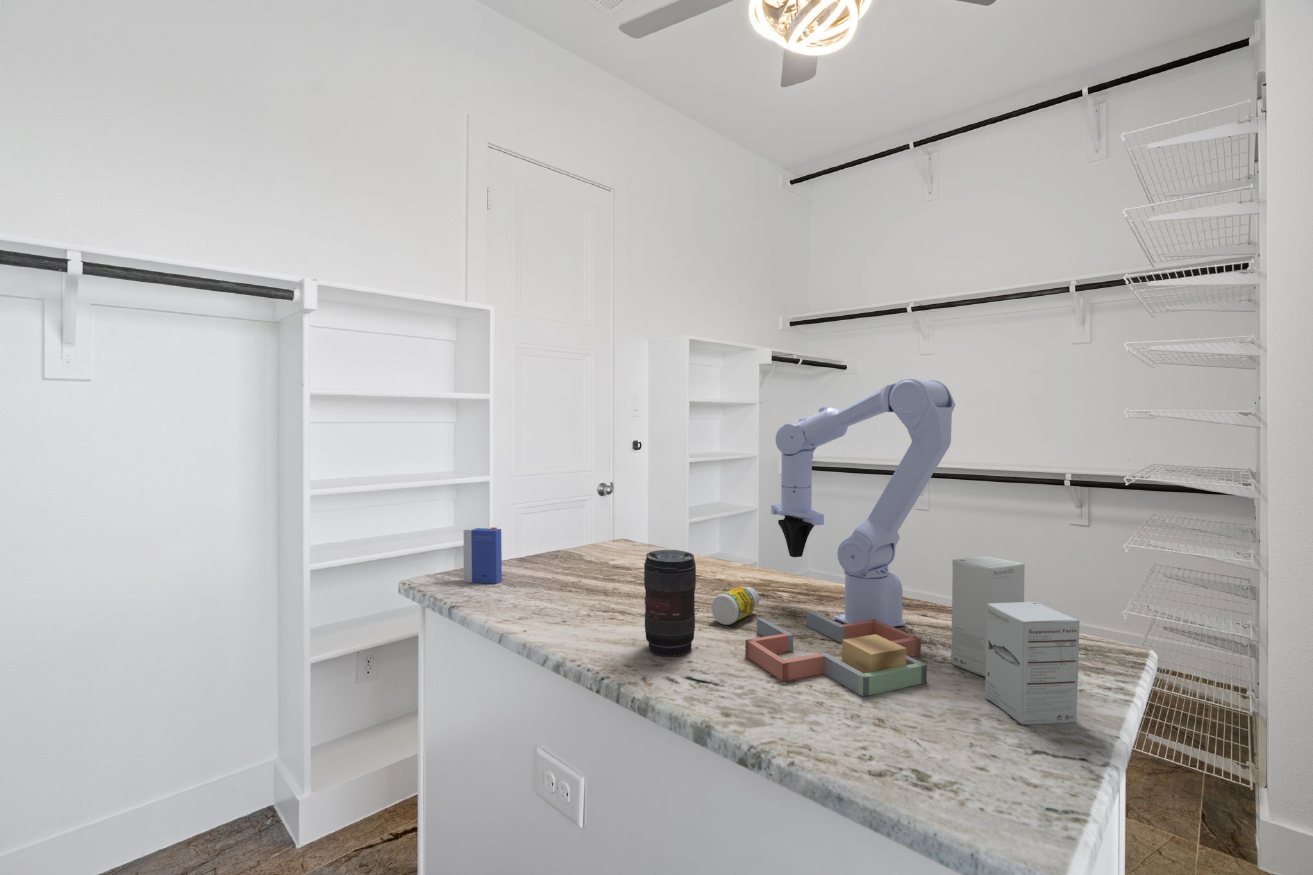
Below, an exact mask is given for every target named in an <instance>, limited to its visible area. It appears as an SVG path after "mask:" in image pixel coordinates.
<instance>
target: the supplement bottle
mask: <svg viewBox="0 0 1313 875" xmlns="http://www.w3.org/2000/svg"><path fill="white" fill-rule="evenodd" d="M759 603H760V596H759V594H758V592H757V590H756V589H754V588H753V587H751V586H747V587H745V586H737V587H734V588H731V589H729V590H728V591H724V592H723V593H720V594H717V595H716V596H715V597H714V598H713V600H712V602H711V606H710V608H711V613H712V616H713V618H714V619H715V620H716V622H718V623H720V624H721V625H723V626H730V625H732V624H735V623H736V622H738V621H741V620H742V619H744V618H746V617H748V616H750V615H751V614H752V613H753V612H754V611H755V609H756V608H757V606H759Z"/></svg>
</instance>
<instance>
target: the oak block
mask: <svg viewBox="0 0 1313 875" xmlns="http://www.w3.org/2000/svg"><path fill="white" fill-rule="evenodd" d="M841 644H842V645H841V661H842V662H844V663H845V664H847V665H849V666H851V667H853V668H855V669H856V670H858V671H860V672H862V673H864V674H865V673H870V672H875V671H880V670H885V669H890V668H895V667H900V666H905V665H906V648H905V647H903V646H900V645H898V644H896V643H894V642H892V641H890V640H887V639H885V638H883V637H881V636H879V635H876V634H874V635H868V636H862V637H856V638H850V639H844V640H842V642H841Z"/></svg>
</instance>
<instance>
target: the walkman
mask: <svg viewBox="0 0 1313 875" xmlns="http://www.w3.org/2000/svg"><path fill="white" fill-rule="evenodd" d="M502 554H503V553H502V528H498V527H497V526H496V527H494V526H493V527H490V528H488V527H487V528H485V527H482V528H481V527H469V528H465V529H463V583H473V584H476V583H477V584H490V585H491V584H492V585H497V584H498V583H500V582H502V581H503V580H502V579H503V574H502V573H503V571H502V570H503V567H502Z"/></svg>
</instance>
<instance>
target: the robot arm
mask: <svg viewBox="0 0 1313 875" xmlns="http://www.w3.org/2000/svg"><path fill="white" fill-rule="evenodd" d="M955 407H956V402H955V401H954V398H953V396H952V393H951V391H950V389H949V388H948V386H947V385H946V384H945V383H943V382H941V381H939V380H934V379H933V380H922V379H916V378H911V377H910V378H909V377H908V378H903V379H901V380H899V381H898V382H896V383H890V384H887V385H885V386H883V387H882V388H880V389H879V390H876V391H874V392H872V393H870V394H868V395H867V396H864V397H862V398H860V399H859V400H856V401H855V402H853V403H852V404H849V405H847V406H845V407H843V408H842V409H837V408H835V407H828V406H822V407H820V408H818V412H817V413H815V414H813V415H811V416H809V417H801V418H799V419H798V423H797V424H793V423H785V424H784V425H782V426H781V427H779V429H778V430H777V432H776V434H775V435H776V436H775V445H776V448H777V449H778V450H779V451H780V453H781V471H780V472H781V474H780V476H781V477H780V478H781V484H780V486H781V490H780V491H781V493H780V494H781V498H780V499H781V500H780V501H781V502H780V503H781V504H780V503H773V504H771V505H770V507H771V508H770V509H771V511H770V514H771V515H779V516H783V519H778V521H777V524H778V526H779V528H780V529H781V530H782V533H783V535H784V539H785V542H786V546H787V551H788V554H789V557H791V558H800V557H801V558H802V557H803V554H804V552H805V551H804V550H805V548H806V544H807V540H808V538H809V535H811V534H810V533H811V531H812V530H813V528H814V527H815V526H821V525H823V526H824V525H825V514H824V513H822V512H821V513H820V512H818V511H816V510H815V509H812V507H813V506H812V499H813V497H812V494H813V493H812V491H813V490H812V489H813V486H812V483H813V482H812V481H813V479H812V478H813V474H812V473H813V472H812V471H813V469H812V468H813V466H812V464H813V460H814V453H815V450H816V449H817V448H818V447H820V446H823V445H825V444H828V443H830V442H832V441H835V440H837V439H839V438H842V437H843V436H845V435H846V433H847V431H848V428H849V427H850V426H853V425H856V424H858V423H860V422H863V421H865V420H868V419H872V418H873V417H877V416H878V415H881V414H884V413H894V414H895V415H896V417H898V419H899V420H900V421H901V423H902V424H903V425H904V426H905V428H906V429H907V433H908V434H909V436H910V439H911V443H910V445H909V446H908V448H907V449H906V451H905V454H904V455H903V457H902V459H901V461H900V463H899V464H898V465H897V467H896V469H895V470H894V472H893V474H892V476H891V477H890V479H889V481H888V483H887V484H886V486H885V488H884V489H883V492H882V493H881V495H880V497H879V498H878V500H877V502H876V503H875V505H874V507H873V508H872V510H871V512H870V513H869V515H868V517H867V518H866V520H864V521H863V522H862V523H861V524H859V525H858V527H856V528H855V529H854V531H853V532H852V533H851V535H850V536H849V537H848V538H846V539H844V540H843V541H841V543H840V544H839V545H838V549H837V560H838V562H839V565H840V566H841V568H842V569H843V570H844V573H843V574H844V575H845V578H844V613H842V614H837V615H833V618H834V619H835V620H836V621H838V622H840V623H843V624H848V623H854V622H861V621H867V620H873V619H875V620H878V621H880V622H883V623H885V624H887V625H890V626H892V627H894V628H896V627H901V626H902V627H903V626H906V624H907V623H906V621H904V620H903V585H902V581H901V580H900V578H899V576H898V575H897V574H896V573H895V572H894V571H891V570H889V565H891V564H892V562H893V561H894V559H895V556H896V548H897V545H898V542H899V540H900V539H901V538H900V535H899V530H900V528H901V526H902V525H903V523H904V522H905V520H906V518H907V517H908V515H909V513H910V511H911V510H913V507H914V505H915V504H916V502H917V500H918V498H919V497H920V496H921V494H922V492H923V491H924V489H925V487H926V486H927V484H928V483H929V481H930V480H931V478H932V476H933V474H934V473H935V471H936V469H937V467H938V466H939V465H940V463H941V461H942V459H943V458H944V456H945V455H946V453H947V451H948V450H949V448H950V445H952V444H951V442H952V420H953V419H952V418H953V412H954V409H955Z"/></svg>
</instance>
